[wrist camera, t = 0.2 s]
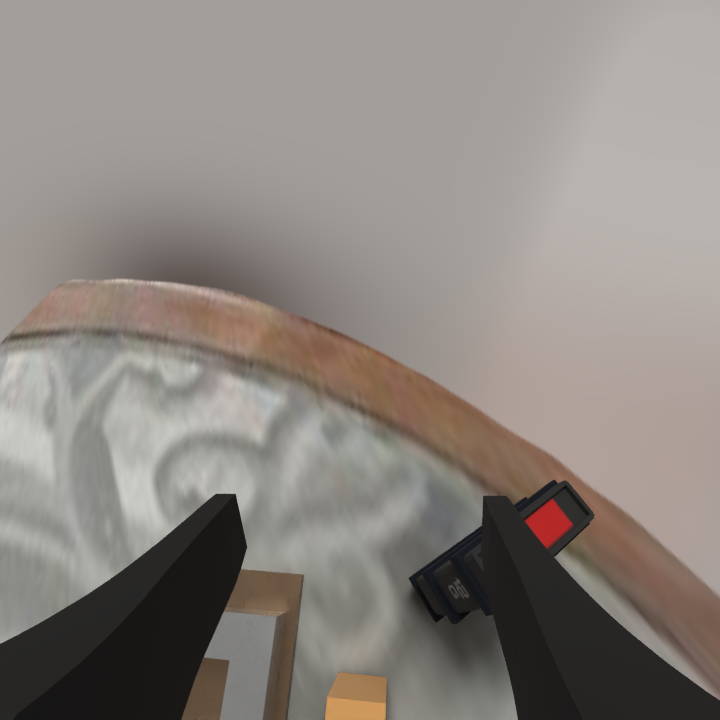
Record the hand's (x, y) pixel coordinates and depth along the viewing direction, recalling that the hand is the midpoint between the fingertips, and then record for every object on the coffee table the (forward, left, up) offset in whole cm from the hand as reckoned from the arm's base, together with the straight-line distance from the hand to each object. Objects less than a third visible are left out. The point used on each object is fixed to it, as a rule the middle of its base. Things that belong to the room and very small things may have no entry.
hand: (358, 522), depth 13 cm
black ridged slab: (0, -9, -31) cm, 32 cm away
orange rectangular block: (-12, +1, -31) cm, 33 cm away
